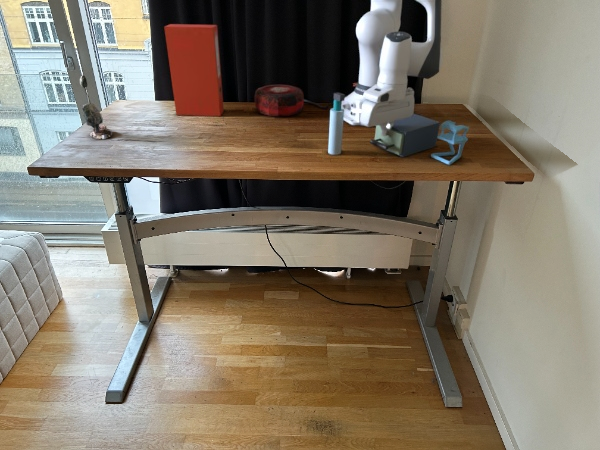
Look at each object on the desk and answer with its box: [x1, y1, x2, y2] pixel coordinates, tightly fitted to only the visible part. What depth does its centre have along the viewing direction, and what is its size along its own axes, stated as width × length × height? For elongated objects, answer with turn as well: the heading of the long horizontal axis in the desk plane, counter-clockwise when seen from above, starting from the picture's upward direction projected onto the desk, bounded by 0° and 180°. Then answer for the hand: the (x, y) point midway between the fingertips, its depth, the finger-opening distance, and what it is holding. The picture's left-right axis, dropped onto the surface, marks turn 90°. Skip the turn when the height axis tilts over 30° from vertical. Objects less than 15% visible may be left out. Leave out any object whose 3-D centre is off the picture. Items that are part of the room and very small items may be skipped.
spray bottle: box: [327, 92, 346, 156], centre depth 136 cm, size 4×4×19 cm
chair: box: [430, 120, 470, 166], centre depth 135 cm, size 8×8×12 cm
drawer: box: [369, 125, 405, 156], centre depth 142 cm, size 20×11×7 cm, turn 126°
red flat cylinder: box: [254, 84, 305, 118], centre depth 175 cm, size 20×8×20 cm
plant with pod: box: [79, 74, 113, 140], centre depth 144 cm, size 8×11×20 cm
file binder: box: [164, 23, 225, 117], centre depth 165 cm, size 8×17×32 cm, turn 89°
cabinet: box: [381, 112, 441, 158], centre depth 144 cm, size 16×12×8 cm
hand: (385, 135), depth 138 cm, fingers closed
